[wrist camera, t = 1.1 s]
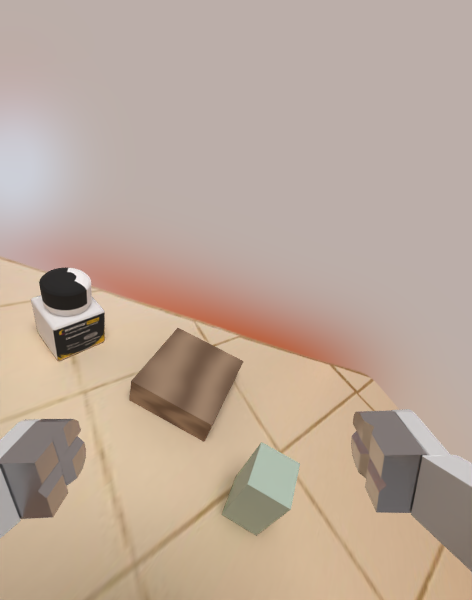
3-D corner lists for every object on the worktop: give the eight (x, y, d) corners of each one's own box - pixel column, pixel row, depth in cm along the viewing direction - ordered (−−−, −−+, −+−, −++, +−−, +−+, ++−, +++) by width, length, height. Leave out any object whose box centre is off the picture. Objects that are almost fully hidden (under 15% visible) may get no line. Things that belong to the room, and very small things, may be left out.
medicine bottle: (58, 362, 42) (48, 301, 35) (36, 331, 45) (23, 269, 37) (105, 341, 47) (105, 284, 40) (83, 315, 50) (79, 257, 42)
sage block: (221, 514, 34) (247, 484, 27) (235, 476, 37) (261, 442, 31) (256, 535, 33) (290, 509, 27) (267, 495, 36) (299, 463, 30)
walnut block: (129, 401, 41) (131, 381, 38) (173, 347, 50) (177, 327, 47) (203, 442, 39) (212, 425, 36) (234, 379, 49) (243, 361, 46)
